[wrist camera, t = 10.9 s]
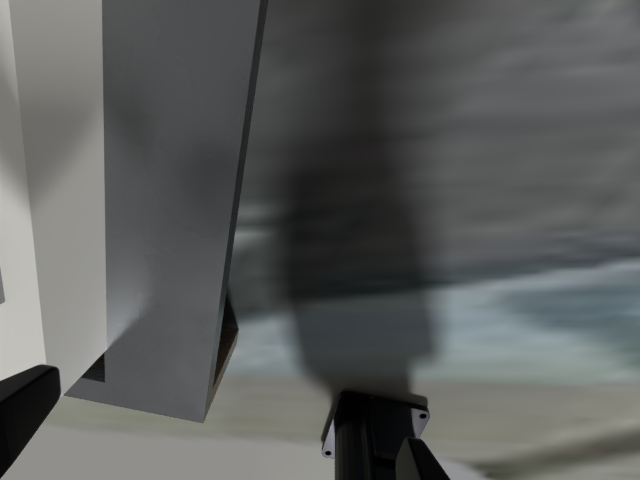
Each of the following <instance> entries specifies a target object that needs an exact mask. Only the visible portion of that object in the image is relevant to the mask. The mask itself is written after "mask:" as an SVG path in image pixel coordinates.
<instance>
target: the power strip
mask: <svg viewBox="0 0 640 480" xmlns="http://www.w3.org/2000/svg"><path fill="white" fill-rule="evenodd" d="M106 350H107V316H106V249H105V181H104V114H103V46H102V0H0V381H1V380H3V379H6V378H8V377H10V376H13V375H15V374H17V373H20V372H22V371H24V370H27V369H29V368H32V367H34V366H36V365H40V364H46V365H51V366H56V367H58V369H59V370H60V379H61V395H60V398H61V397H62V396H63V395H64V394H65V393H66V392H67V391H68V390H69V388H70V387H71V386H72V385H73V384H74V383H75V382H76V381H77V380H78V379H79V378H80V377H81V376H82V375H83V374H84V373H85V372H86V371H87V370H88V369H89V368H90V366H91V365H92V364H93V363H94V362H95V361H96V360H97V359H98V358H99V357H100V356H101V355H102V354H103V353H104V352H105V351H106ZM60 398H59V399H60Z"/></svg>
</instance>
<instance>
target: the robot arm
mask: <svg viewBox="0 0 640 480" xmlns="http://www.w3.org/2000/svg"><path fill="white" fill-rule="evenodd" d="M60 395H61V379H60V370H59V369H58V367H56V366H51V365H46V364H40V365H36V366H34V367H32V368H29V369H27V370H24V371H22V372H20V373H17V374H15V375H13V376H10V377H8V378H6V379H3V380H1V381H0V478H1V477H2V476H3V475H4V474H5V472H6V471H7V470H8V469H9V467H10V466H11V465H12V464H13V462H14V461H15V460H16V459H17V457H18V456H19V455H20V453H21V452H22V450H23V449H24V448H25V446H26V445H27V443H28V442H29V441H30V439H31V438H32V437H33V435H34V434H35V432H36V431H37V430H38V428H39V427H40V425H41V424H42V423H43V421H44V420H45V418H46V417H47V416H48V414H49V413H50V411H51V410H52V409H53V407H54V406H55V404H56V403H57V402H58V400H59V398H60ZM429 418H430V414H429V411H428V408H427V407H424V406H420V405H415V404H410V403H406V402H401V401H396V400H391V399H386V398H382V397H377V396H372V395H367V394H362V393H358V392H353V391H347V390H345V391H342V392H341V393H340V395H339V398H338V401H337V404H336V407H335V410H334V413H333V416H332V419H331V422H330V425H329V428H328V431H327V433H326V436H325V439H324V442H323V445H322V455H323V456H324V457H326V458H331V459H335V480H450V478H449V477H448V475H447V474H446V473H445V471H444V470H443V468H442V467H441V465H440V464H439V463H438V461H437V460H436V458H435V457H434V455H433V454H432V453H431V451H430V450H429V448H428V447H427V445H426V444H425V443H424V442H423V441H422V440H421V439H419V438H420V436H421V434H422V432H423V430H424V428H425V426H426V424H427V422H428V420H429Z"/></svg>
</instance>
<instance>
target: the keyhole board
mask: <svg viewBox="0 0 640 480" xmlns="http://www.w3.org/2000/svg"><path fill="white" fill-rule="evenodd" d="M267 4H268V0H102V46H103V114H104V181H105V249H106V316H107V350H106V351H105V352H104V353H103V354H102V355H101V356H100V357H99V358H98V359H97V360H96V361H95V362H94V363H93V364H92V365H91V366H90V368H89V369H88V370H87V371H86V372H85V373H84V374H83V375H82V376H81V377H80V378H79V379H78V380H77V381H76V382H75V383H74V384H73V385H72V386H71V387H70V388H69V390H68V391H67V392H66V393H65V394H64V396H69V397H74V398H79V399H84V400H89V401H94V402H99V403H104V404H109V405H114V406H119V407H124V408H129V409H134V410H139V411H144V412H149V413H154V414H159V415H164V416H169V417H175V418H180V419H185V420H190V421H195V422H200V423H203V422H204V420H205V418H206V415H207V413H208V410H209V408H210V406H211V403H212V401H213V399H214V396H215V394H216V391H217V389H218V387H219V384H220V382H221V379H222V377H223V375H224V372H225V370H226V368H227V365H228V363H229V360H230V358H231V356H232V353H233V351H234V348H235V346H236V343H237V337H238V331H239V330H236V329H231V328H227V327H222V320H223V313H224V306H225V299H226V292H227V285H228V278H229V271H230V264H231V257H232V250H233V243H234V236H235V229H236V222H237V215H238V208H239V200H240V193H241V186H242V179H243V172H244V165H245V158H246V151H247V144H248V137H249V130H250V123H251V116H252V109H253V102H254V95H255V88H256V81H257V74H258V67H259V60H260V53H261V46H262V39H263V32H264V25H265V18H266V11H267Z"/></svg>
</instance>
